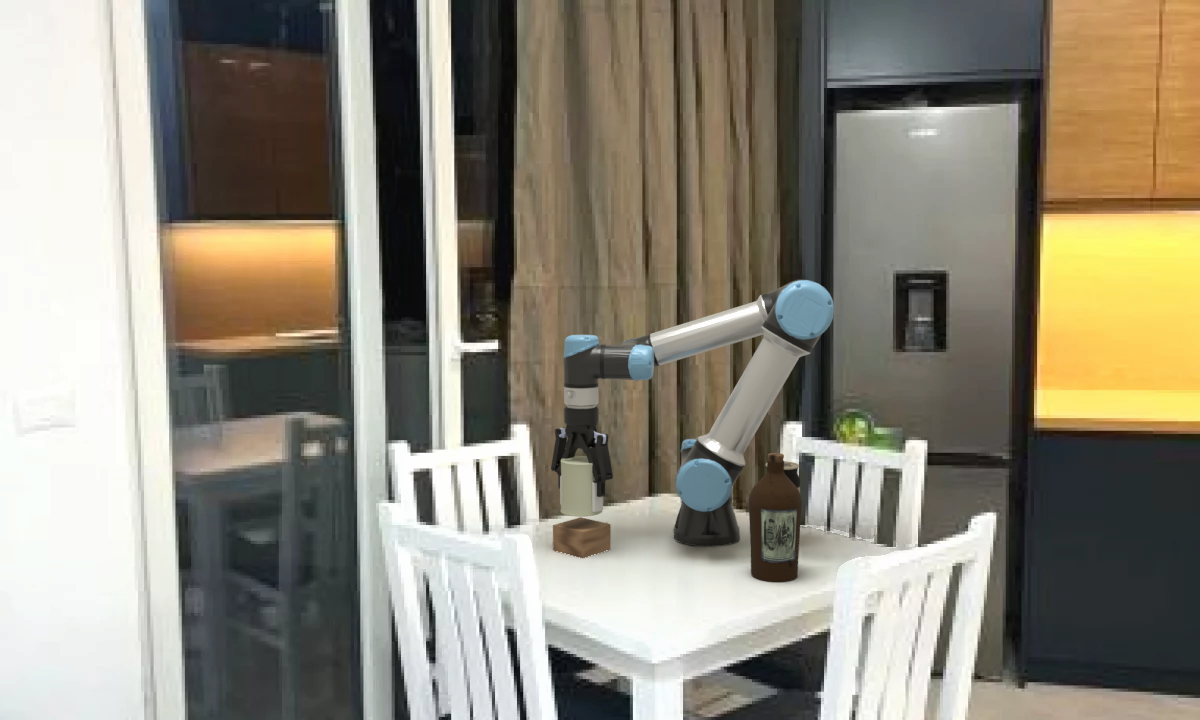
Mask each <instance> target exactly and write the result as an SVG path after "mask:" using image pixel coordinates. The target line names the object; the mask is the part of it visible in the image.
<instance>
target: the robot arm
mask: <svg viewBox="0 0 1200 720" xmlns="http://www.w3.org/2000/svg"><path fill="white" fill-rule="evenodd" d="M834 314H835V304H834V300H833V298H832V296H831V294H830V292H829V291H828V290H827V288H825V286H822V285H821V284H820V283H818V282H815V281H813V280H809V279H795V280H793V281H790V282H788V283H786V284H785V285H783V286H781V287H778V288H776V289H774V290H771V291H769V292H767V293H763V294H760V295H759V296H758V298H757V299H756V300H755V301H753V302H749V303H746V304H743V305H739V306H736V307H732V308H730V309H726V310H724V311H720V312H717V313H716V312H715V313H714V314H711V315H707V316H704V317H700V318H698V319H697V318H696V319H694V320H690V321H687V322H684V323H682V324H678V325H675V326H671V327H669V328H665V329H661V330H659V331H658V330H657V331H655V332H653V333H650V334H646V335H642V336H639V337H634V338H629V339H627V340H624V341H623V343H621V344H602V343H600V342H599V337H598V336H597V335H595V334H572V335H568V336H567V337H566V338H565V340H564V347H563V348H564V349H563V382H564V383H563V397H564V398H563V399H564V400H563V402H564V405H565V406H564V408H563V411H564V412H563V421H564V424H565V427H559V428H555V429H554V435H555V442H554V446H553V447H554V448H553V453H552V459H551V460H552V461H551V465H550V470H551V472H555V473H556V474H557V475H558V478H557V479H558V489H559V493H560V494H559V497H560V498H559V505H560V506H561V459H563V458H564V459H567V458H572V457H573V458H574V456H576V452H577V450H578V449H580V450H582V451H583V454H585V456H587V458H588V461H589V463H592V464H593V465H592V473H593V476H594V478H595V481H593V482H592V512H598V511H601V510H602V511H603V510H604V496H605V495H606V481H609V480H612V479H613V477H614V476H613V475H614V474H613V468H612V462H611V456H610V450H609V445H608V444H609V435H608V433H599V432H598V427H597V425H598V423H599V407H598V406H597V405H598V404H599V401H600V400H599V399H600V398H599V380H625V381H627V380H628V381H636V382H638V381H643V380H644V381H645V380H646V381H647V380H651V379H652V378H653V376H654V371H655V368H656V367H659V366H663V365H666V364H668V363H672V362H673V363H674V362H675V361H679V360H682V359H685V358H689V357H692V356H696V355H699V354H703V353H706V352H709V351H712V350H716V349H718V348H722V347H725V346H729V345H730V346H731V345H734V344H736V343H739V342H744V341H746V340H749V339H750V340H751V339H752V338H757V337H759V336H762V335H763V338H762V340H761V342H760V343H759V344H758V346H757V348H756V349H755V352H754V353H753V355H752V357H751V358H750V360H749V362H748V363H747V366H746V367H745V369H744V371H743V373H742V375H741V377H739V380H738V382H737V383H736V384H735V387H734V388H733V390H732V392H731V394H730V395H729V397H728V399H727V400H726V402H725V404H724V405H723V407H722V410H721V411H720V413H719V415H718V416H717V417H716V419H715V422H714V423H713V425H712V427H711V429H710V430H709V432H708V433H706V434H703V435H700V436H698V437H697V438H686V439H684V440H683V441H682V443H681V449H680V453H681V461H680V463H681V464H680V467H679V470H678V471H677V473H676V476H675V488H676V491H677V493H678V496H679V498H680V500H681V502H680V503H681V504H680V508H679V510H678V513H677V516H676V519H675V523H674V526H673V539H674V540H675V541H677V542H678V543H682V544H684V545H689V546H697V547H721V546H728V545H732V544H735V543H737V542H738V541H740V539H741V538H740V532H741V531H740V526H739V525H738V519H737V516H736V513H735V510H734V507H733V487H734V485H735V484H736V481H737V479H738V478H739V476H740V474H741V472H742V471H743V470H744V468H745V466H746V461H745V457H744V454H745V451H746V450H747V448H748V447H749V445H750V444H751V441H752V439H753V438H754V436H755V434H756V433H757V431H758V430H759V427H760V426H761V424H762V423H763V421H764V419H765V417H766V416H767V413H768V412H769V410H770V409H771V407H772V405H773V404H774V402H775V400H776V398H777V397H778V395H779V393H780V391H781V390H782V388H783V386H784V384H785V383H786V382H787V379H788V378H789V376H790V374H791V372H792V371H793V369H794V367H795V365H796V364H797V362H798V361H799V358H801V357H804V356H807V355H810V354H811V353H812V351H813V349H814V348H815V346H816V344H817V342H818V341H819V339H820V338H821V336H822V334H823V333H825V332H826V331H827V330H828V328H829V327H830V326H831V324H832V322H833V319H834ZM599 475H600V476H599Z"/></svg>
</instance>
